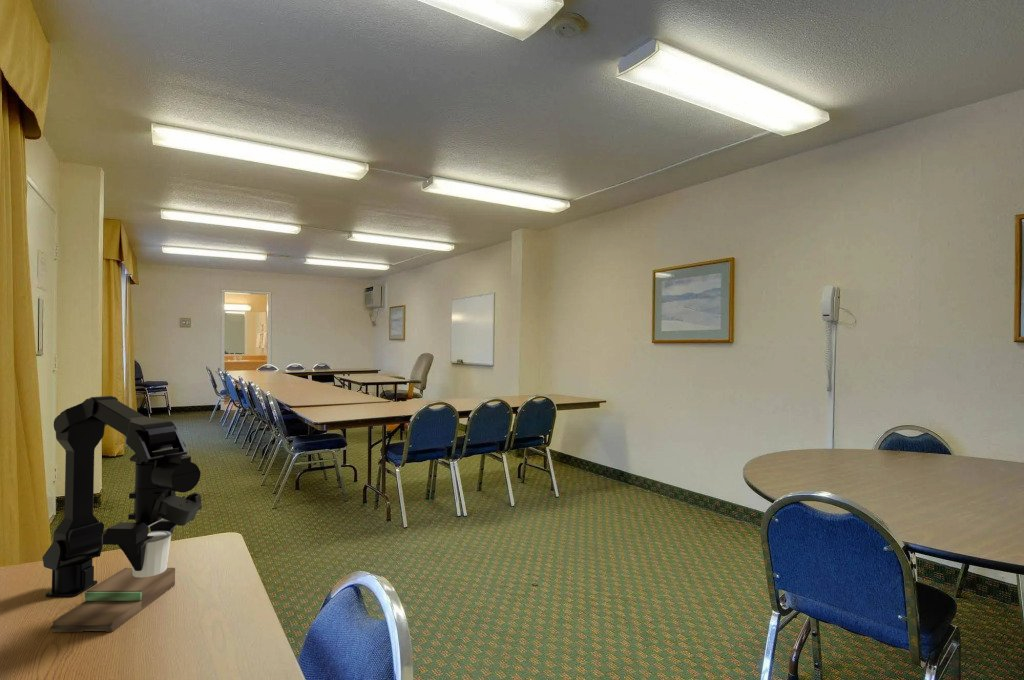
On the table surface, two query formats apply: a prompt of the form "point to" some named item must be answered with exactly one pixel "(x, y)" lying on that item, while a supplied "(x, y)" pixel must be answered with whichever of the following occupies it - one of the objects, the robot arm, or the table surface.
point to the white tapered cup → (155, 554)
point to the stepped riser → (115, 601)
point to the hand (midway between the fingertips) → (149, 563)
